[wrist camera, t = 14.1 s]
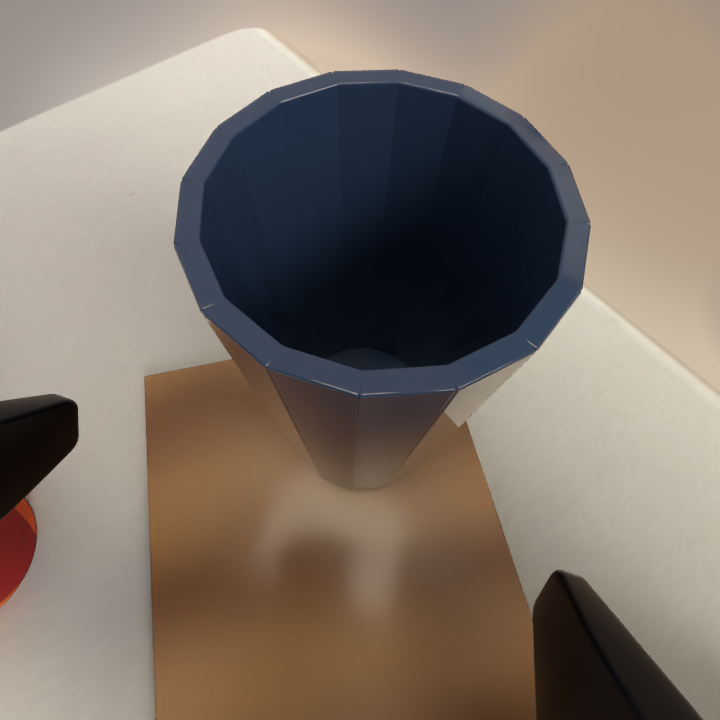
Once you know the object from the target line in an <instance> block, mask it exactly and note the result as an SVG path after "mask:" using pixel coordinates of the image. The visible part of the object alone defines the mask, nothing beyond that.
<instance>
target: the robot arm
mask: <svg viewBox="0 0 720 720" xmlns="http://www.w3.org/2000/svg"><path fill="white" fill-rule="evenodd" d="M78 437H79V429H78V406H77V404H76V402H74V401H73V400H71V399H68V398H66V397H63V396H60V395H56V394H48V395H40V396H33V397H26V398H19V399H12V400H5V401H0V520H2V519H3V518H4V517H5V516H6V515H7V514H8V513H9V512H10V511H11V510H12V509H13V508H14V507H16V506H17V505H18V504H19V503H20V502H21V501H22V500H23V499H24V498H25V497H26V496H27V495H28V494H29V493H30V492H31V491H32V490H33V489H34V488H35V487H36V486H37V485H38V484H39V483H40V482H41V481H42V480H43V479H44V478H45V477H46V476H47V475H48V474H49V473H50V472H51V471H52V470H53V469H54V468H55V467H56V466H57V465H58V464H59V463H60V462H61V461H62V460H63V459H64V458H65V457H66V456H67V455H68V454H69V453H70V452H71V451H72V450H73V448H74V447H75V445H76V443H77V441H78ZM533 644H534V675H535V704H536V720H703V719H702V718H701V716H700V715H699V714H698V713H697V712H696V710H695V709H694V708H693V707H692V706H691V705H690V703H689V702H688V701H687V700H686V699H685V697H684V696H683V695H682V694H681V693H680V691H679V690H678V689H677V688H676V687H675V686H674V684H673V683H672V682H671V681H670V680H669V678H668V677H667V676H666V675H665V674H664V673H663V671H662V670H661V669H660V668H659V667H658V665H657V664H656V663H655V662H654V661H653V660H652V658H651V657H650V656H649V655H648V654H647V652H646V651H645V650H644V649H643V648H642V647H641V645H640V644H639V643H638V642H637V641H636V639H635V638H634V637H633V636H632V635H631V634H630V632H629V631H628V630H627V629H626V628H625V626H624V625H623V624H622V623H621V622H620V621H619V619H618V618H617V617H616V616H615V615H614V613H613V612H612V611H611V610H610V609H609V608H608V606H607V605H606V604H605V603H604V602H603V600H602V599H601V598H600V597H599V596H598V595H597V593H596V592H595V591H594V590H593V589H592V587H591V586H590V585H589V584H588V583H587V582H586V581H585V579H583V578H582V577H580V576H578V575H575V574H572V573H569V572H566V571H563V570H556V571H554V572H553V573H552V574H551V576H550V578H549V579H548V581H547V583H546V584H545V586H544V588H543V589H542V591H541V593H540V594H539V596H538V598H537V599H536V602H535V604H534V608H533Z"/></svg>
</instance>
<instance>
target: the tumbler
mask: <svg viewBox="0 0 720 720" xmlns="http://www.w3.org/2000/svg"><path fill="white" fill-rule="evenodd" d="M590 227H591V226H590V220H589V217H588V215H587V212H586V209H585V207H584V204H583V201H582V198H581V196H580V193H579V190H578V188H577V185H576V182H575V180H574V177H573V174H572V172H571V169H570V166H569V165H567V162H566V161H565V159H564V158H563V157H562V156H561V155H560V154H559V153H558V152H557V151H556V150H555V149H554V148H553V147H552V146H551V145H550V144H549V142H547V140H546V139H545V138H544V137H543V136H542V135H541V134H540V133H539V132H538V131H537V130H536V129H535V128H534V126H533V125H532V124H531V123H530V122H529V121H528V120H527V119H526V118H523V116H522V115H520V114H518V113H517V112H515V111H513V110H511V109H509V108H508V107H506V106H504V105H502V104H500V103H498V102H497V101H495V100H493V99H491V98H489V97H487V96H485V95H484V94H482V93H480V92H478V91H476V90H474V89H473V88H471V87H469V86H465V85H464V84H461V83H456V82H452V81H447V80H443V79H439V78H435V77H430V76H426V75H422V74H417V73H413V72H408V71H404V70H400V71H399V70H368V71H366V70H363V71H334V72H333V73H332V72H329V73H325V74H322V75H319V76H316V77H312V78H309V79H306V80H302V81H299V82H296V83H293V84H289V85H286V86H283V87H279V88H276V89H273V90H271V91H270V92H266V93H265V94H264V95H262V96H261V97H259V98H258V99H256V100H255V101H253V102H252V103H250V104H249V105H248V106H246V107H245V108H243V109H242V110H240V111H239V112H237V113H236V114H234V115H233V116H232V117H230V118H229V119H227V120H226V121H224V122H223V123H221V124H220V125H218V127H217V128H216V129H214V131H213V132H212V134H211V135H210V137H209V138H208V140H207V141H206V143H205V145H204V146H203V148H202V149H201V151H200V152H199V154H198V155H197V157H196V158H195V160H194V161H193V163H192V164H191V166H190V167H189V169H188V170H187V172H186V173H185V175H184V176H183V178H182V181H181V185H180V193H179V202H178V210H177V219H176V227H175V236H174V248H175V251H176V253H177V256H178V258H179V261H180V263H181V265H182V268H183V270H184V273H185V275H186V278H187V280H188V282H189V285H190V287H191V290H192V292H193V295H194V297H195V299H196V302H197V304H198V307H199V309H200V311H201V313H202V314H203V316H204V317H205V319H206V320H207V322H208V323H209V325H210V326H211V328H212V329H213V331H214V332H215V333H216V335H217V336H218V338H219V339H220V341H221V342H222V344H223V345H224V347H225V348H226V350H227V351H228V353H229V354H230V356H231V357H232V359H233V360H234V362H235V363H236V365H237V366H238V368H239V369H240V371H241V372H242V374H243V375H244V377H245V378H246V380H247V381H248V383H249V384H250V386H251V387H252V389H253V390H254V392H255V393H256V395H257V396H258V398H259V399H260V401H261V402H262V404H263V405H264V407H265V408H266V410H267V411H268V413H269V414H270V416H271V417H272V418H273V420H274V421H275V423H276V424H277V426H278V427H279V429H280V430H281V432H282V433H283V435H284V436H285V438H286V439H287V441H288V442H289V444H290V445H291V447H292V448H293V450H294V451H295V453H296V454H297V456H298V457H299V459H300V460H302V461H303V462H304V463H305V464H306V465H307V467H308V468H309V469H310V470H311V471H312V472H314V473H315V474H316V475H317V476H319V477H320V478H321V479H323V480H325V481H327V482H328V483H331V484H333V485H335V486H338V487H342V488H345V489H350V490H374V489H380V488H383V487H387V486H389V485H392V484H394V483H396V482H398V481H400V480H401V479H403V478H404V477H406V476H407V475H409V474H411V473H413V472H414V471H415V470H416V469H417V468H418V467H419V466H420V465H421V464H422V463H423V462H424V461H425V460H426V459H427V458H428V457H429V456H430V455H431V454H432V453H433V452H434V451H435V450H436V449H437V448H438V447H439V446H441V445H442V444H443V443H444V442H445V441H446V440H447V439H448V438H449V437H450V436H451V435H452V434H453V433H454V432H455V431H456V430H457V429H458V428H459V427H460V426H461V425H462V424H463V423H464V422H465V421H466V420H467V419H468V418H469V417H470V416H471V415H472V414H473V413H474V412H475V411H476V410H477V409H478V408H479V407H480V406H481V405H482V404H483V403H484V402H485V401H486V400H487V399H488V398H490V397H491V396H492V395H493V394H494V393H495V392H496V391H497V390H498V389H499V388H500V387H501V386H502V385H503V384H504V383H505V382H506V381H507V380H508V379H509V378H510V377H511V376H512V375H513V374H514V373H515V372H516V371H517V370H518V369H519V368H520V367H521V366H522V365H523V364H524V363H525V362H526V361H527V360H528V359H529V358H530V357H531V356H532V355H533V354H534V353H535V352H536V351H537V350H538V349H539V348H540V347H541V345H542V344H543V343H544V341H545V340H546V339H547V337H548V336H549V335H550V333H551V332H552V331H553V329H554V328H555V327H556V325H557V324H558V323H559V321H560V320H561V319H562V317H563V316H564V315H565V313H566V312H567V311H568V309H569V308H570V307H571V305H572V304H573V303H574V301H575V300H576V299H577V297H578V296H579V295H580V293H581V290H582V288H583V280H584V272H585V265H586V257H587V250H588V242H589V234H590Z"/></svg>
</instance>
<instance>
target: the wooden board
mask: <svg viewBox="0 0 720 720" xmlns="http://www.w3.org/2000/svg"><path fill="white" fill-rule="evenodd" d="M145 406H146V435H147V465H148V495H149V525H150V555H151V584H152V614H153V644H154V674H155V704H156V720H536V704H535V675H534V644H533V619H532V616H531V613H530V610H529V607H528V604H527V601H526V598H525V595H524V592H523V589H522V586H521V583H520V580H519V577H518V574H517V571H516V568H515V565H514V562H513V559H512V556H511V553H510V550H509V548H508V545H507V542H506V539H505V536H504V533H503V530H502V527H501V524H500V521H499V518H498V515H497V512H496V509H495V506H494V503H493V500H492V497H491V494H490V491H489V488H488V485H487V482H486V479H485V476H484V473H483V470H482V467H481V464H480V461H479V458H478V456H477V453H476V450H475V447H474V444H473V441H472V438H471V435H470V432H469V429H468V426H467V423H466V421H465V422H464V423H463V424H462V425H461V426H460V427H459V428H458V429H457V430H456V431H455V432H454V433H453V434H452V435H451V436H450V437H449V438H448V439H447V440H446V441H445V442H444V443H443V444H442V445H441V446H439V447H438V448H437V449H436V450H435V451H434V452H433V453H432V454H431V455H430V456H429V457H428V458H427V459H426V460H425V461H424V462H423V463H422V464H421V465H420V466H419V467H418V468H417V469H416V470H415V471H414V472H413V473H411V474H409V475H407V476H406V477H404V478H403V479H401V480H400V481H398V482H396V483H394V484H392V485H389V486H387V487H383V488H380V489H374V490H350V489H345V488H342V487H338V486H335V485H333V484H331V483H328V482H327V481H325V480H323V479H321V478H320V477H319V476H317V475H316V474H315V473H314V472H312V471H311V470H310V469H309V468H308V467H307V465H306V464H305V463H304V462H303V461H302V460H300V459H299V457H298V456H297V454H296V453H295V451H294V450H293V448H292V447H291V445H290V444H289V442H288V441H287V439H286V438H285V436H284V435H283V433H282V432H281V430H280V429H279V427H278V426H277V424H276V423H275V421H274V420H273V418H272V417H271V416H270V414H269V413H268V411H267V410H266V408H265V407H264V405H263V404H262V402H261V401H260V399H259V398H258V396H257V395H256V393H255V392H254V390H253V389H252V387H251V386H250V384H249V383H248V381H247V380H246V378H245V377H244V375H243V374H242V372H241V371H240V369H239V368H238V366H237V365H236V363H235V362H234V360H233V359H232V360H227V361H222V362H217V363H212V364H207V365H201V366H196V367H191V368H186V369H181V370H176V371H171V372H166V373H161V374H156V375H151V376H146V377H145Z"/></svg>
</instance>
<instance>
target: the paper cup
mask: <svg viewBox="0 0 720 720" xmlns="http://www.w3.org/2000/svg"><path fill="white" fill-rule="evenodd" d="M36 540H37V527H36V521H35V517H34V514H33V511H32V509H31V507H30V505H29V504H28V502H27V501H26V500H25V499H23V500H22V501H21V502H20V503H19V504H18V505H17V506H16V507H14V508H13V509H12V510H11V511H10V512H9V513H8V514H7V515H6V516H5V517H4V518H3V519H2V520H0V607H1V606H2V605H3V604H4V603H5V602H6V601H7V600H8V599H9V598H10V597H11V596H12V594H13V593H14V592H15V591H16V589H17V588H18V586H19V585H20V583H21V582H22V580H23V579H24V577H25V575H26V573H27V571H28V569H29V567H30V564H31V562H32V559H33V555H34V552H35V547H36Z"/></svg>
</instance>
